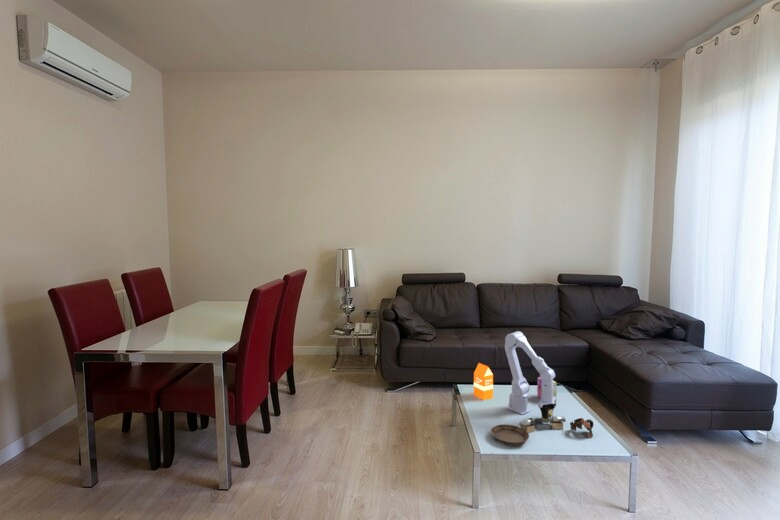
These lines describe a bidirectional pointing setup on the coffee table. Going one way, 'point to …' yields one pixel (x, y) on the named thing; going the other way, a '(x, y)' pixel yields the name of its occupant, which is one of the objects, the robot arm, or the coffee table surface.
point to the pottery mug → (586, 424)
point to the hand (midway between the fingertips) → (547, 416)
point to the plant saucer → (510, 434)
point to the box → (539, 388)
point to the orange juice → (483, 382)
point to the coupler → (550, 413)
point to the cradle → (540, 424)
